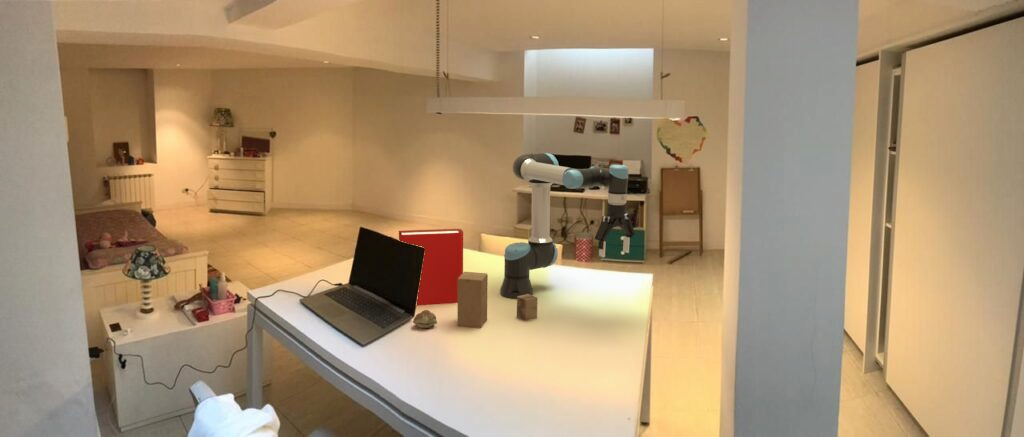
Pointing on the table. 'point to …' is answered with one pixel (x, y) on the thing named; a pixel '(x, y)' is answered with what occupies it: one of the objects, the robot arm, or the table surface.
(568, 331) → the table surface
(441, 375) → the table surface
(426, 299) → the book
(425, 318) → the seashell
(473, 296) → the wooden block
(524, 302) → the walnut block
